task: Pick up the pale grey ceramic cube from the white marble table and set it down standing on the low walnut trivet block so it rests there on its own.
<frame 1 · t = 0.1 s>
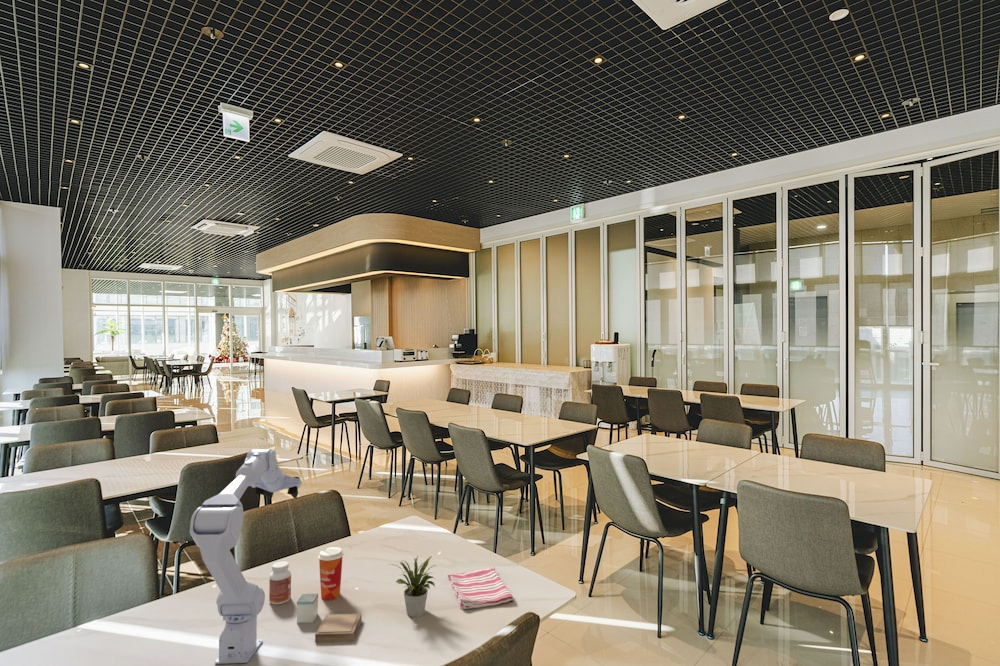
hand: (284, 495, 159), 32 cm above the table, tool tilted 50°, fingers open, 7 cm apart
house plant: (411, 614, 148), on the table
pill bottle: (280, 600, 156), on the table
cube: (307, 618, 146), on the table
dish towel: (479, 591, 163), on the table
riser: (339, 630, 139), on the table
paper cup: (330, 596, 159), on the table
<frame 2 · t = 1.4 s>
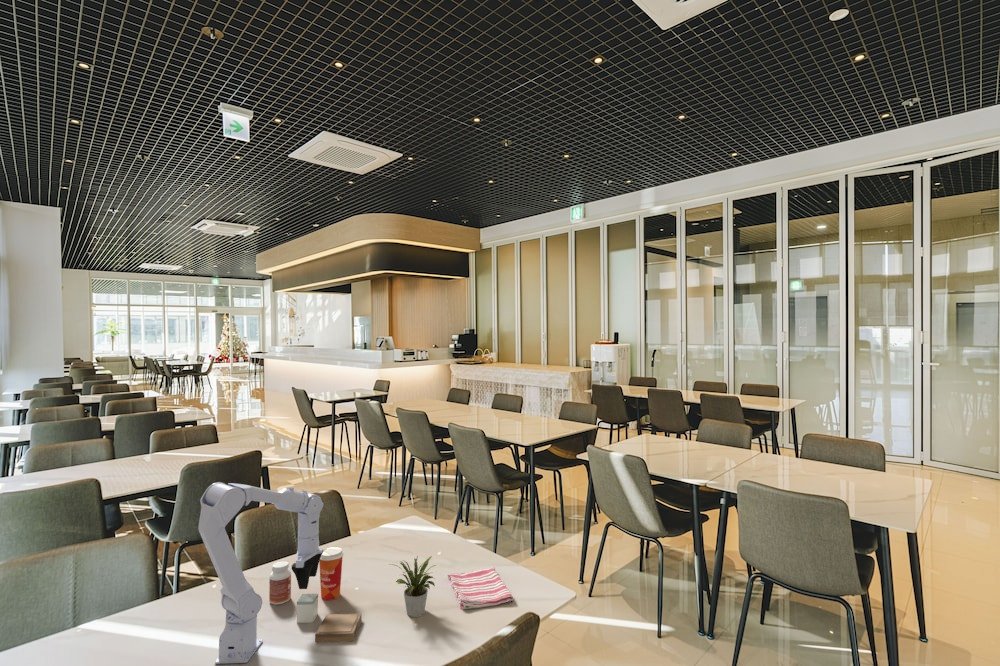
hand: (307, 582, 146), 10 cm above the table, tool pointing down, fingers open, 7 cm apart
nothing on the table moved.
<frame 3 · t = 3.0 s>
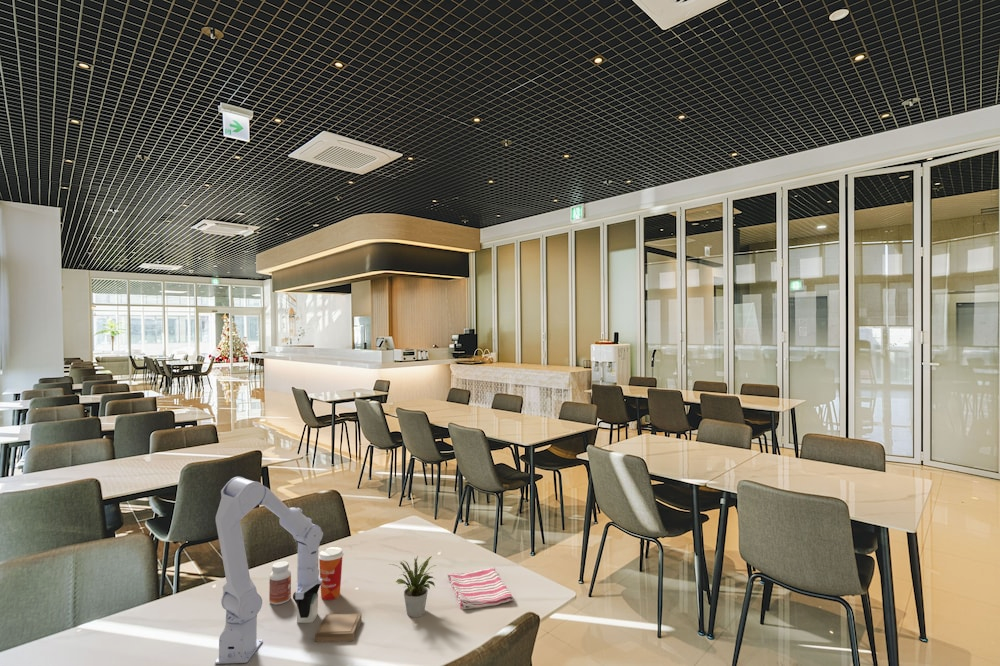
hand: (307, 612, 146), 2 cm above the table, tool pointing down, fingers closed on cube, 4 cm apart
cube: (307, 618, 146), on the table, touching gripper
everything else where it was.
when the fingers open (5 cm above the table, at t = 7.4 s): cube stays where it is, resting on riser.
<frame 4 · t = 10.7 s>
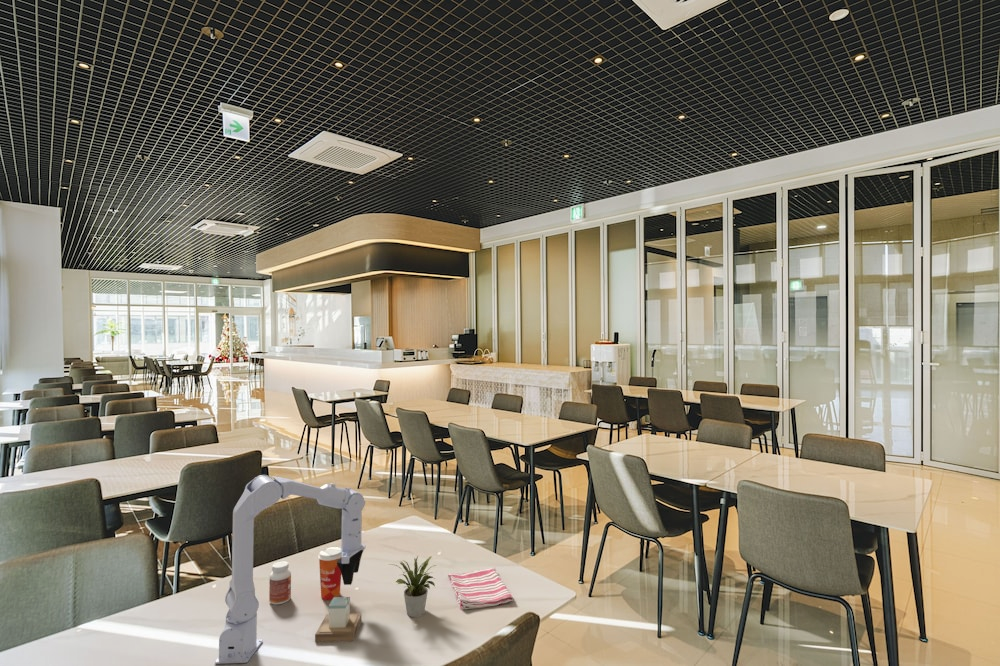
hand: (351, 578, 148), 10 cm above the table, tool pointing down, fingers open, 7 cm apart
cube: (339, 623, 139), point 2 cm above the table, touching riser
everything else where it was.
at the end: cube 0.0 cm from the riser (horizontally); cube touching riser; cube tilted 0° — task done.
